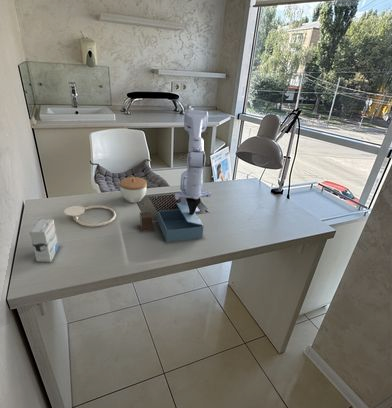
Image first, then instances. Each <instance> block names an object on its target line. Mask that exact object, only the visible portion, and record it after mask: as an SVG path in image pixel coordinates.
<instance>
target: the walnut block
mask: <svg viewBox="0 0 392 408" xmlns="http://www.w3.org/2000/svg"><path fill="white" fill-rule="evenodd" d="M153 220H154V219H153V215H152V213H151V211H144V212H139V227H140V230H141V232H147V231H152V230H153V228H154V227H153V225H154V224H153V223H154V222H153Z"/></svg>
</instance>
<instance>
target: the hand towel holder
mask: <svg viewBox="0 0 392 408" xmlns="http://www.w3.org/2000/svg"><path fill="white" fill-rule="evenodd" d="M92 209H105V210H107V211H108V210H109V211H110V212H112V213H113V216H112V218H110V219H109V220H107V221H104V222H100V223H86V222H83V221H80V220H79V216H81V215H83V214H84V213H85V211H86V210H92ZM63 213H64V214H65V215H66V216H68V217H73V218H72V220H73V221H74V222H76V223H77V224H79V225H80V226H84V227H91V228H97V227H103V226H106V225H108V224H110V223H112V222H114V220H115V219H116V217H117V213H116V211H115V210H114V209H113V208H112V207H110V206H107V205H98V204H97V205H89V206H85V207H83V206H80V205H73V206H69V207H66V208H65V209H64V211H63Z"/></svg>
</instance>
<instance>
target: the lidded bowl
mask: <svg viewBox="0 0 392 408" xmlns="http://www.w3.org/2000/svg"><path fill="white" fill-rule="evenodd" d="M147 186H148V182H147V180H146V179H144V178H142V177H139V176H130V177H129V176H128V177H124V178H122V179H121V180H119V190H120V194H121V196H122V197H123V199H124V200H126V201H127V202H128V203H130V204H131V203H132V204H136V203H139V202H141V201H142V200H144V198H145V197H146V194H147V188H148V187H147Z"/></svg>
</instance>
